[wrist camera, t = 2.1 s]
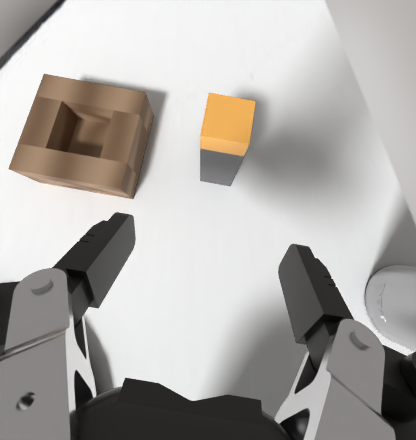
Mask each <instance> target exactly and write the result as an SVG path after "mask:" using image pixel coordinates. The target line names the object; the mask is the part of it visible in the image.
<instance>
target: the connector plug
mask: <svg viewBox="0 0 416 440" xmlns="http://www.w3.org/2000/svg"><path fill="white" fill-rule="evenodd" d="M255 103H256V101H252V100H246V99H241V98H235V97H230V96H225V95H219V94H214V93H209V95H208V100H207V105H206V110H205V115H204V120H203V125H202V130H201V135H200V181H204V182H210V183H215V184H221V185H226V186H231V184H232V181H233V179H234V177H235V175H236V173H237V170H238V168H239V166H240V164H241V162H242V159H243V157H244V155H245V153H246V151H247V148H248V146H249V144H250V137H251V130H252V123H253V117H254V110H255Z"/></svg>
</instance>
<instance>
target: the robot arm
mask: <svg viewBox="0 0 416 440" xmlns="http://www.w3.org/2000/svg"><path fill="white" fill-rule="evenodd" d="M134 245H135V227H134V218H133V216H132V215H129V214H124V213H118V212H116V213H115V214H114V215H113V216H112V217H111V218H110V219H109V220H108V221H104V220H103V221H101V222H100V223H98V224H96V225H94V226H92V227H91V229H90V230H89V231H88V232H87V233H86V235H84V236H83V237H82V238H81V239H80V240H79V242H77V243H76V244H75V245H74V246H73V247H72V248H71V249H70V250H69V251H68V252H67V253H66V254H65V255H64V256H63V257H62V258H61V259H60V260H59V261H58V262H57V264H56V265H55V266H54V267H52V268H49V269H43V270H39V271H37V272H34V273H32V274H30V275H28V276H27V277H25V278H24V279H23V280H22V281H19V282H9V283H0V440H416V266H406V265H390V266H387V267H384V268H382V269H380V270H378V271H377V272H376V273H375V274H374V275H373V276H372V278H371V279H370V281H369V283H368V286H367V289H366V295H365V301H366V308H367V312H368V315H369V317H370V319H371V321H372V323H373V324H374V326H375V327H376V329H377V330H378V331H379V332H380V333H381V334H382V335H383V336H385V337H386V338H388V339H390V340H391V341H393V342H396V343H398V344H400V345H402V346H404V347H406V348H409V349H411V350H413V351H415V352H414V353H412V354H410V355H408V356H406V355H404V354H401V353H399V352H397V351H395V350H393V349H391V348H389V347H386V346H384V345H382V344H381V342H380V341H379V339H378V338H377V336H376V335H375V334H374V333H373V332H372V331H371V330H370V329H369V328H367V327H366V326H365V325H363V324H362V323H360V322H358V321H355V320H354V319H353V317H352V315H351V313H350V311H349V309H348V307H347V305H346V304H345V302H344V300H343V298H342V296H341V294H340V292H339V290H338V288H337V287H335V286H336V285H335V283H334V281H333V279H331V275H330V273H329V272H328V270H327V268H326V267H325V266H324V265H323V264H322V262H321V261H320V260H319V259H317V258H315V257H314V255H313V253H312V251H311V249H310V248H309V247H308V246H303V245H297V244H291V245H290V247H289V248H288V250H287V252H286V254H285V256H284V257H283V259H282V261H281V263H280V265H279V270H278V274H279V279H280V283H281V287H282V290H283V294H284V298H285V302H286V306H287V310H288V314H289V317H290V321H291V325H292V329H293V333H294V337H295V341H296V343H300V344H306V345H307V347H308V352H307V353H306V355H305V357H304V359H303V362H302V364H301V366H300V369H299V371H298V374H297V376H296V378H295V381H294V383H293V386H292V388H291V391H290V393H289V395H288V397H287V398H286V400H285V401H284V402H283V404H282V405H281V407H280V409H279V410H278V412H277V414H276V416H275V419H273V418H272V417H271V416H269V415H268V414H266V413H265V412H264V411H262V408H261V400H257V399H250V398H244V397H238V396H232V395H224V396H218V397H213V398H208V399H203V400H197V401H190V400H188V399H186V398H184V397H183V396H181V395H179V394H177V393H175V392H174V391H172V390H170V389H168V388H166V387H165V386H163V385H161V384H159V383H154V382H148V381H142V380H136V379H130V378H125V380H124V383H123V386H122V387H117V388H114V389H111V390H108V391H106V392H104V393H102V394H99V395H98V396H96V388H95V382H94V377H93V372H92V369H91V365H90V360H89V352H88V344H87V336H86V328H85V320H84V313H85V312H86V310H87V309H88V307H94V308H99V307H100V305H101V303H102V301H103V300H104V298H105V296H106V295H107V293H108V291H109V290H110V288H111V286H112V284H113V283H114V281H115V279H116V278H117V276H118V274H119V272H120V271H121V269H122V267H123V266H124V264H125V262H126V261H127V259H128V257H129V255H130V254H131V252H132V250H133V248H134Z"/></svg>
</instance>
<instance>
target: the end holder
mask: <svg viewBox="0 0 416 440" xmlns="http://www.w3.org/2000/svg"><path fill="white" fill-rule="evenodd" d="M152 121H153V113H152V110H151V107H150V104H149V101H148V98H147V96H146V93H145V92H140V91H135V90H129V89H124V88H118V87H113V86H107V85H102V84H97V83H91V82H86V81H80V80H75V79H69V78H64V77H59V76H53V75H48V74H44V75H43V78H42V80H41V83H40V86H39V88H38V91H37V94H36V97H35V99H34V102H33V105H32V107H31V110H30V113H29V115H28V118H27V121H26V123H25V126H24V129H23V131H22V134H21V137H20V139H19V142H18V145H17V147H16V150H15V153H14V155H13V158H12V161H11V164H10V166H9V169H10V170H12V171H14V172H17V173H19V174H21V175H24V176H26V177H28V178H31V179H33V180H35V181H37V182H40V183H46V184H51V185H57V186H63V187H68V188H74V189H80V190H85V191H91V192H96V193H102V194H108V195H113V196H119V197H125V198H130V199H133V197H134V193H135V189H136V185H137V181H138V177H139V173H140V169H141V165H142V161H143V157H144V153H145V149H146V145H147V141H148V137H149V133H150V129H151V125H152Z"/></svg>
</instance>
